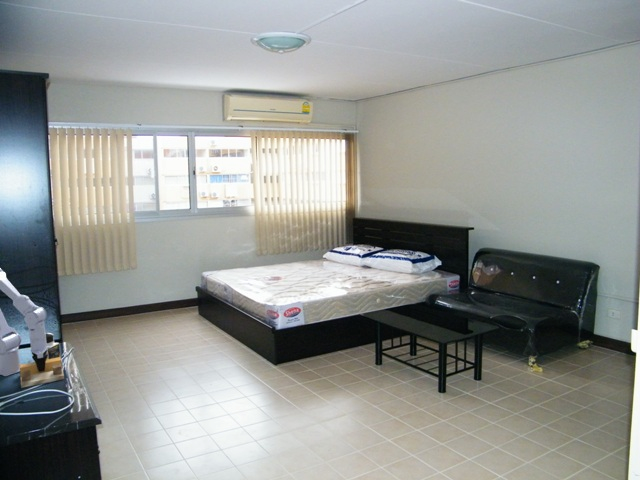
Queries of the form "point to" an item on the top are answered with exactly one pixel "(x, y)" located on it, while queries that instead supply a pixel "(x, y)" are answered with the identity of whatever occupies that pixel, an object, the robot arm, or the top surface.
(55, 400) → the top surface
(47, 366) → the amber bar
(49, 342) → the medicine bottle
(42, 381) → the display stand
